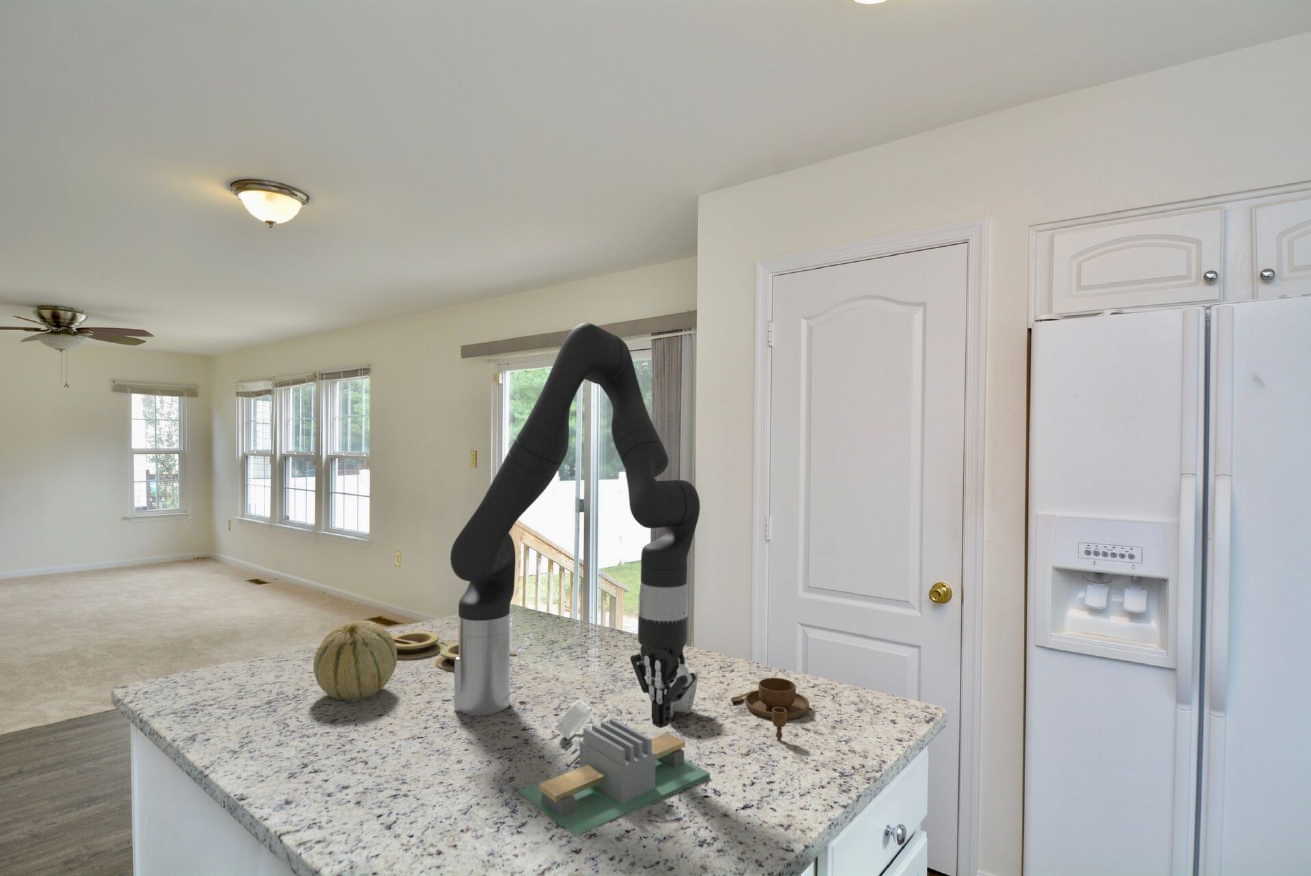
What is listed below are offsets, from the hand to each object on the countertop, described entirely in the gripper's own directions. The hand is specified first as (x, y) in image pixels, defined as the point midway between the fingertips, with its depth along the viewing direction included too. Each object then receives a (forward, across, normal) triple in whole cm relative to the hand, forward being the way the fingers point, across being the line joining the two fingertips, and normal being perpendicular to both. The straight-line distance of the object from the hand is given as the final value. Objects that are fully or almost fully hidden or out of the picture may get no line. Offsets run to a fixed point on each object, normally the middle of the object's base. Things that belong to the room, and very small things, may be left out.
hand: (660, 724), depth 105 cm
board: (+7, 0, +8) cm, 11 cm away
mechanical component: (+8, +14, -16) cm, 22 cm away
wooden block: (+3, 0, +5) cm, 6 cm away
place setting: (+8, +3, -29) cm, 30 cm away
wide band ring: (+8, +17, +4) cm, 20 cm away
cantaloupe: (+8, +59, +26) cm, 65 cm away
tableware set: (+9, +72, +4) cm, 73 cm away
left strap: (+3, 0, +12) cm, 12 cm away
